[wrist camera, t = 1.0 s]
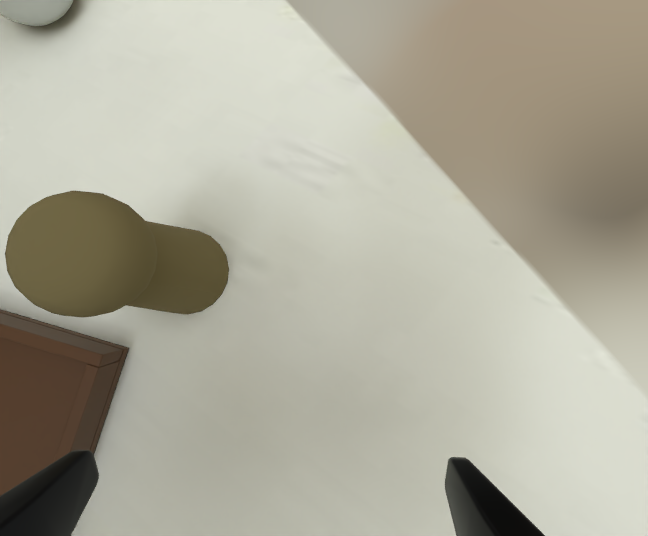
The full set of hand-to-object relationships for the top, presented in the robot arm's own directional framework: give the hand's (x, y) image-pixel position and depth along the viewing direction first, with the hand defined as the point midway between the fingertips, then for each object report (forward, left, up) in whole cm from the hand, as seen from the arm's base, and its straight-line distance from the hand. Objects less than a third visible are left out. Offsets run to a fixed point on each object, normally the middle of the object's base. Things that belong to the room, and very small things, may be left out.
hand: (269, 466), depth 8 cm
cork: (+3, +10, -14) cm, 18 cm away
